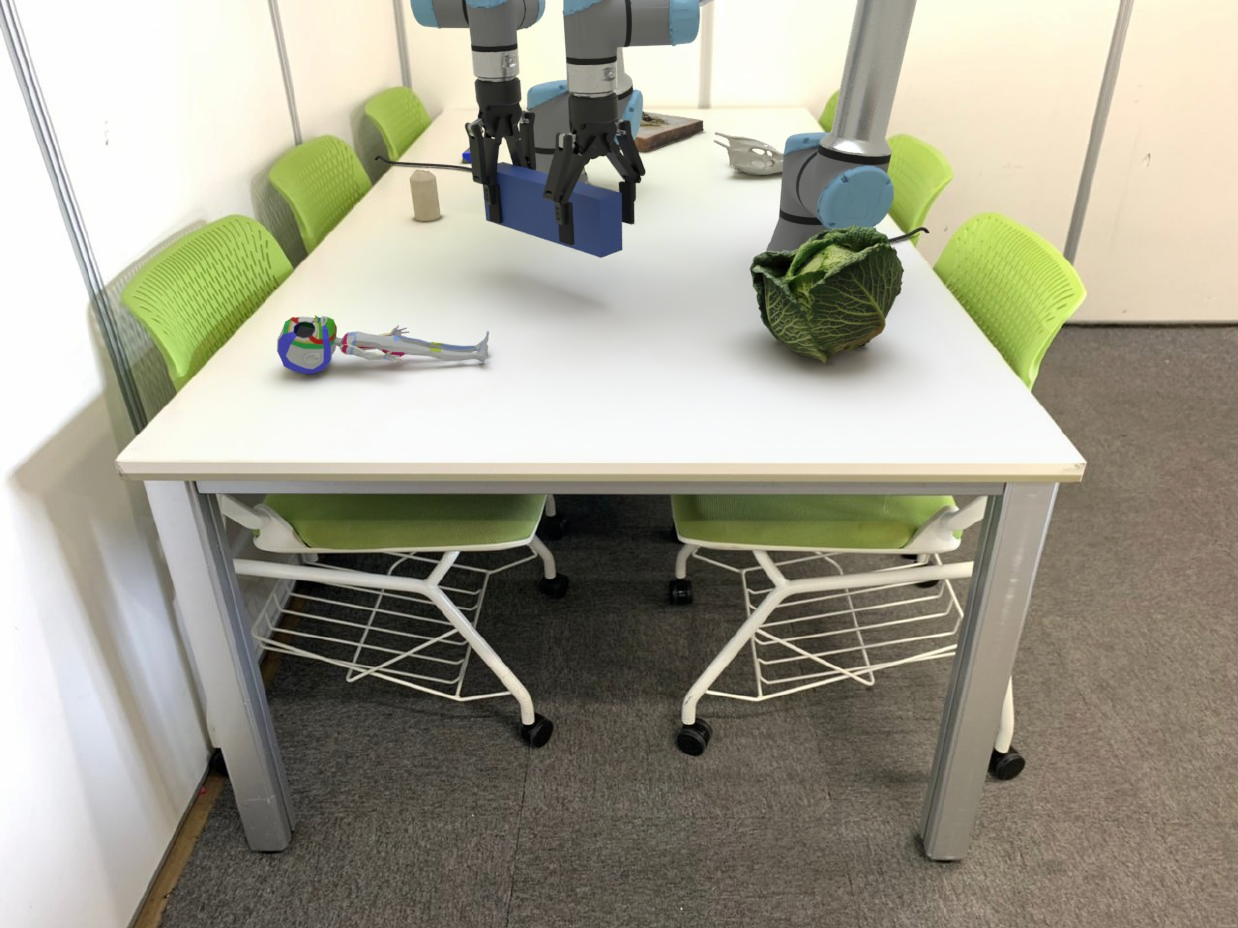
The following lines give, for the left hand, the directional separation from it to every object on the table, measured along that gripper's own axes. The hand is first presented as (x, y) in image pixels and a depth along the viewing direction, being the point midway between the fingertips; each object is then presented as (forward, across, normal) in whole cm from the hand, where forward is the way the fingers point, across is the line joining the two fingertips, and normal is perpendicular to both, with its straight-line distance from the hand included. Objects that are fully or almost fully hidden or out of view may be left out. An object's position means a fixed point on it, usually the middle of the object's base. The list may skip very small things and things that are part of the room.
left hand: (508, 217), depth 159 cm
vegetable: (+10, +11, -60) cm, 62 cm away
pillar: (+11, +53, +78) cm, 95 cm away
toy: (+10, -37, -16) cm, 42 cm away
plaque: (+12, +96, +61) cm, 114 cm away
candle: (+11, +10, +40) cm, 43 cm away
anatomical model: (+11, +88, +8) cm, 89 cm away
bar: (+1, 0, -11) cm, 11 cm away
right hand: (-2, 0, -23) cm, 23 cm away
